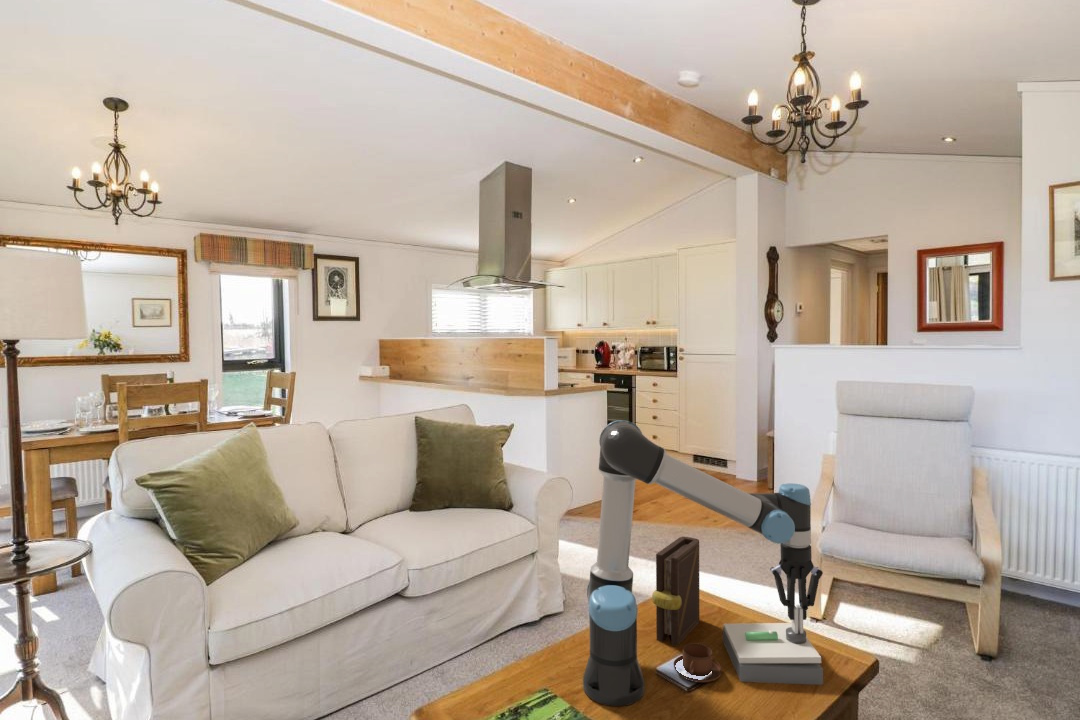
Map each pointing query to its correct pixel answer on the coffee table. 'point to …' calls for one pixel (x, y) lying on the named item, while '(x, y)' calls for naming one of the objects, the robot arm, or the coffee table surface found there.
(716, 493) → the robot arm
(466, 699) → the coffee table surface
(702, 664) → the cup and saucer
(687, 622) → the book
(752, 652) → the level plate
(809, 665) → the level base
